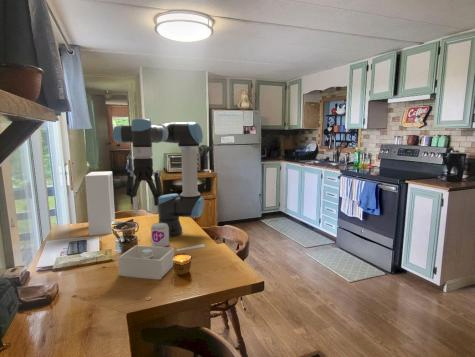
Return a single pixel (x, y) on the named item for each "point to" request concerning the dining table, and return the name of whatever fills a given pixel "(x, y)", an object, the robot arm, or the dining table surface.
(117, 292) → the dining table surface
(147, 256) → the pill bottle
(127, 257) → the flap
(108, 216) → the box
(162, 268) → the carton
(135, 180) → the robot arm
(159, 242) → the supplement can
